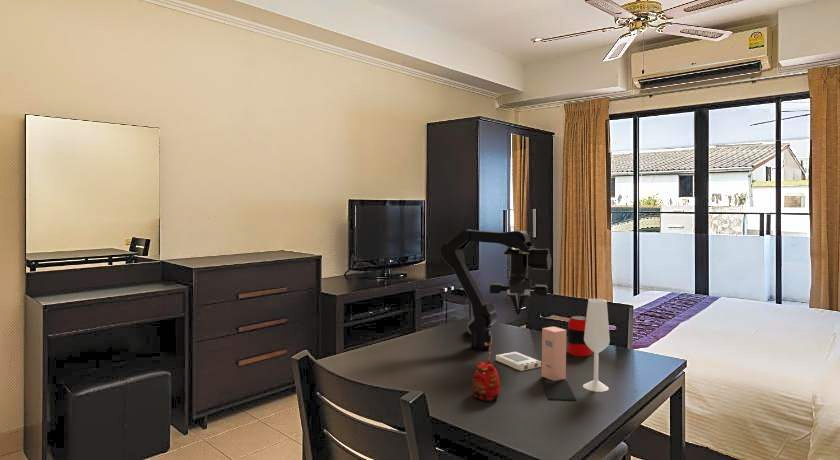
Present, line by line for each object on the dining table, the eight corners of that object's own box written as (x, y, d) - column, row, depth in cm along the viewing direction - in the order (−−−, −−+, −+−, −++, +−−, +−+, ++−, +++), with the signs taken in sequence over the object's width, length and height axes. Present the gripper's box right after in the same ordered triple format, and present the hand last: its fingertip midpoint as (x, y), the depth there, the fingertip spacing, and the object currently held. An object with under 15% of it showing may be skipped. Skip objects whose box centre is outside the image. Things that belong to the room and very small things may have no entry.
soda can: (586, 358, 167) (587, 321, 167) (564, 354, 172) (564, 318, 171) (594, 352, 173) (595, 317, 173) (572, 348, 178) (573, 314, 177)
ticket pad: (495, 360, 165) (495, 354, 165) (515, 356, 169) (515, 351, 169) (520, 370, 154) (520, 365, 154) (541, 366, 158) (541, 361, 158)
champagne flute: (592, 392, 137) (594, 303, 135) (577, 384, 143) (579, 298, 142) (614, 390, 139) (616, 302, 137) (598, 381, 145) (600, 297, 144)
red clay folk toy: (466, 396, 134) (466, 339, 133) (483, 389, 139) (483, 335, 138) (489, 405, 128) (490, 345, 128) (506, 397, 133) (507, 340, 133)
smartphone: (578, 403, 131) (566, 382, 146) (578, 399, 131) (566, 379, 146) (548, 402, 132) (540, 381, 146) (548, 398, 131) (540, 378, 146)
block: (541, 376, 149) (542, 328, 148) (553, 373, 151) (554, 326, 150) (553, 381, 145) (554, 332, 144) (565, 378, 147) (566, 330, 146)
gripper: (487, 270, 166) (487, 318, 167) (547, 272, 161) (546, 321, 162) (491, 266, 177) (491, 311, 177) (547, 268, 172) (547, 314, 173)
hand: (518, 314), depth 172 cm, fingers closed
